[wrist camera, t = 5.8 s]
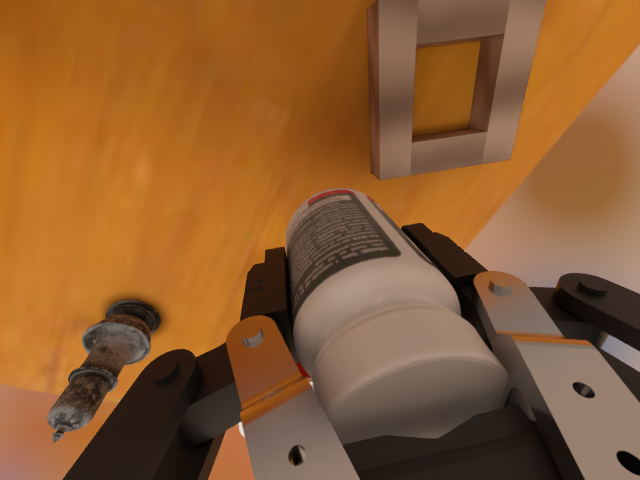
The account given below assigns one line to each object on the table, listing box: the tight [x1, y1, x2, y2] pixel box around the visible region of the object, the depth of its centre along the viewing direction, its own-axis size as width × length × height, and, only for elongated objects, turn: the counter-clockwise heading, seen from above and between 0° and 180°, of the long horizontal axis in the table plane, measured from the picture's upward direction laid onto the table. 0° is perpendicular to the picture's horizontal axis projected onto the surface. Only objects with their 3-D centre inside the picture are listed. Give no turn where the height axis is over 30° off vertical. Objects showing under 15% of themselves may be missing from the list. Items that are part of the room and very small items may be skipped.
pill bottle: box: [286, 188, 508, 445], centre depth 9 cm, size 5×5×8 cm
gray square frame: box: [367, 0, 546, 180], centre depth 22 cm, size 12×12×2 cm
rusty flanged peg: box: [47, 300, 161, 442], centre depth 24 cm, size 6×6×12 cm
